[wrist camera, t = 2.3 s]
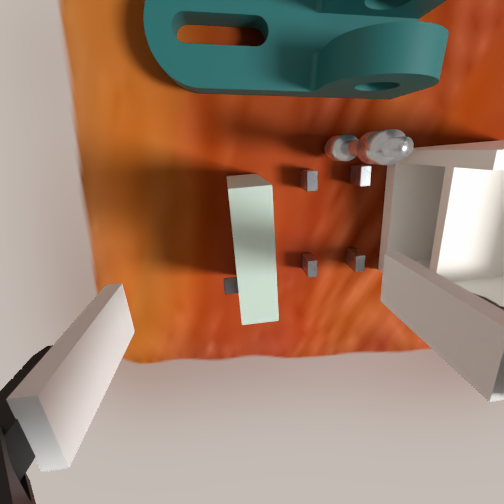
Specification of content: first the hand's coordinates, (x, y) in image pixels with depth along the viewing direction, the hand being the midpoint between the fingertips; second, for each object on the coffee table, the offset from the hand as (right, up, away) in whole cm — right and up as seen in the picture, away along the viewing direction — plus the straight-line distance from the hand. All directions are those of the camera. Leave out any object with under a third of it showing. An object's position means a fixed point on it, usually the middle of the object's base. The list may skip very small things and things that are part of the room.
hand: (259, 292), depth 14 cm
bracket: (+2, +17, +7) cm, 19 cm away
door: (-1, +4, +11) cm, 12 cm away
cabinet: (+16, +6, +12) cm, 21 cm away
